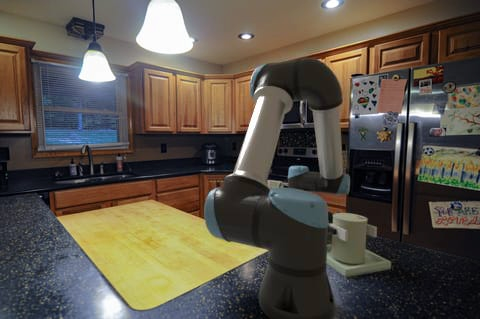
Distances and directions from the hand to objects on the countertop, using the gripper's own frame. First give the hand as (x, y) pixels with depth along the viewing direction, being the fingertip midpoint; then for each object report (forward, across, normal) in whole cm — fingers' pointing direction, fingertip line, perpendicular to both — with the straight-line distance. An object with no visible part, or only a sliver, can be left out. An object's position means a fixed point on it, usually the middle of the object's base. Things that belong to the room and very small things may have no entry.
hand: (361, 234), depth 68 cm
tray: (-5, 0, -9) cm, 10 cm away
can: (-5, 0, -8) cm, 9 cm away
